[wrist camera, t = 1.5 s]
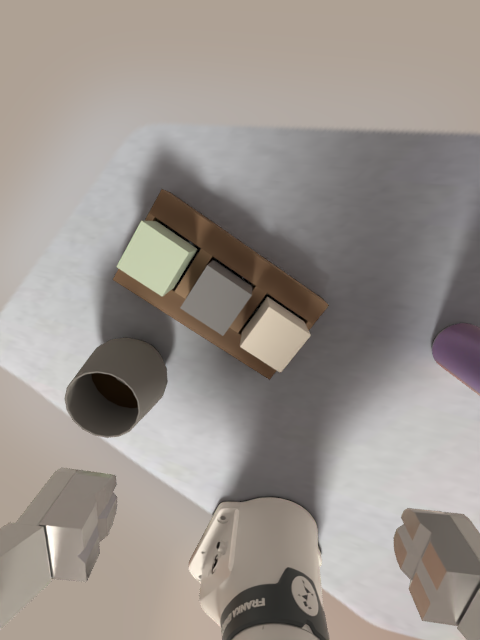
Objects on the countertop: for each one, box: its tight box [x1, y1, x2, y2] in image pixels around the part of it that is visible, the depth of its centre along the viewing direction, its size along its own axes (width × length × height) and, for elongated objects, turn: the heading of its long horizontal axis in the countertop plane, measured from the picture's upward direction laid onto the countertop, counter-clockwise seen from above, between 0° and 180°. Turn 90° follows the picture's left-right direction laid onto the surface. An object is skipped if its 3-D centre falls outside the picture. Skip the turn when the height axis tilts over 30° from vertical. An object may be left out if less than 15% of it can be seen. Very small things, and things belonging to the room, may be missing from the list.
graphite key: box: [180, 260, 252, 336], centre depth 31 cm, size 5×5×4 cm
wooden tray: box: [113, 189, 329, 380], centre depth 34 cm, size 11×21×3 cm, turn 56°
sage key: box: [117, 221, 197, 296], centre depth 30 cm, size 5×5×4 cm
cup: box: [65, 338, 167, 438], centre depth 35 cm, size 10×9×10 cm
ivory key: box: [240, 297, 311, 373], centre depth 32 cm, size 5×5×4 cm
